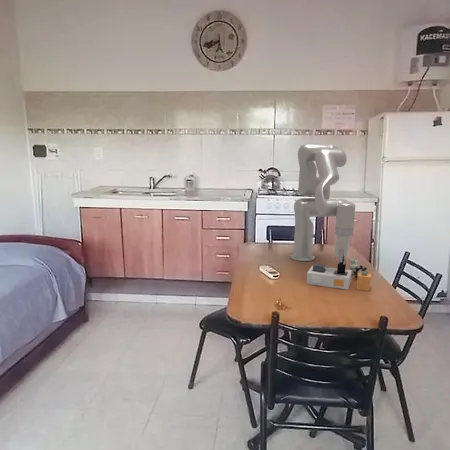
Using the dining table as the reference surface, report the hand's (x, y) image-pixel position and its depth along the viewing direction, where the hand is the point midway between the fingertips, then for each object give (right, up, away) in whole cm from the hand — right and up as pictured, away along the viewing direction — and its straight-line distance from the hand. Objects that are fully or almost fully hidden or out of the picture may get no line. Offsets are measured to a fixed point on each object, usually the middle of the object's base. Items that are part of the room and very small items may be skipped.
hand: (341, 272), depth 187 cm
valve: (+11, -3, +13) cm, 17 cm away
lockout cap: (+8, -6, -4) cm, 11 cm away
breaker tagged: (0, -4, +1) cm, 4 cm away
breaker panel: (-5, -5, +3) cm, 7 cm away
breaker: (-9, -1, +4) cm, 10 cm away
